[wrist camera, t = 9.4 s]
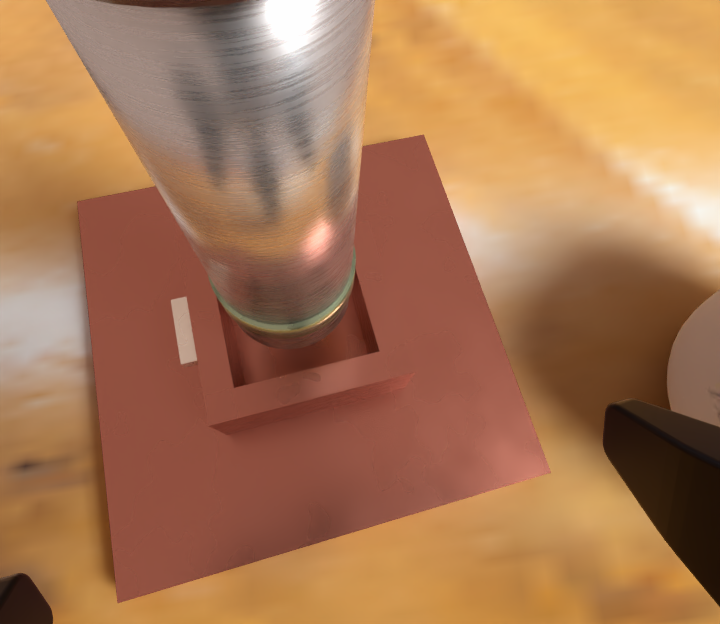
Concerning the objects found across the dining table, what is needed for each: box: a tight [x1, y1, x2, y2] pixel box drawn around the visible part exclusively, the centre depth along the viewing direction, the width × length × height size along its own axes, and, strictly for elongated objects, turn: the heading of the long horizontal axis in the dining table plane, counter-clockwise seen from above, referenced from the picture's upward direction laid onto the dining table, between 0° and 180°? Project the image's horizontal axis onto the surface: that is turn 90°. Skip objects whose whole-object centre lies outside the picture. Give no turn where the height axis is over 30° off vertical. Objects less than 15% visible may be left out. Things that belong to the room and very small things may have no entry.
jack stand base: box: [77, 135, 551, 603], centre depth 19 cm, size 16×16×4 cm
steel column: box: [46, 0, 375, 349], centre depth 10 cm, size 5×5×13 cm
